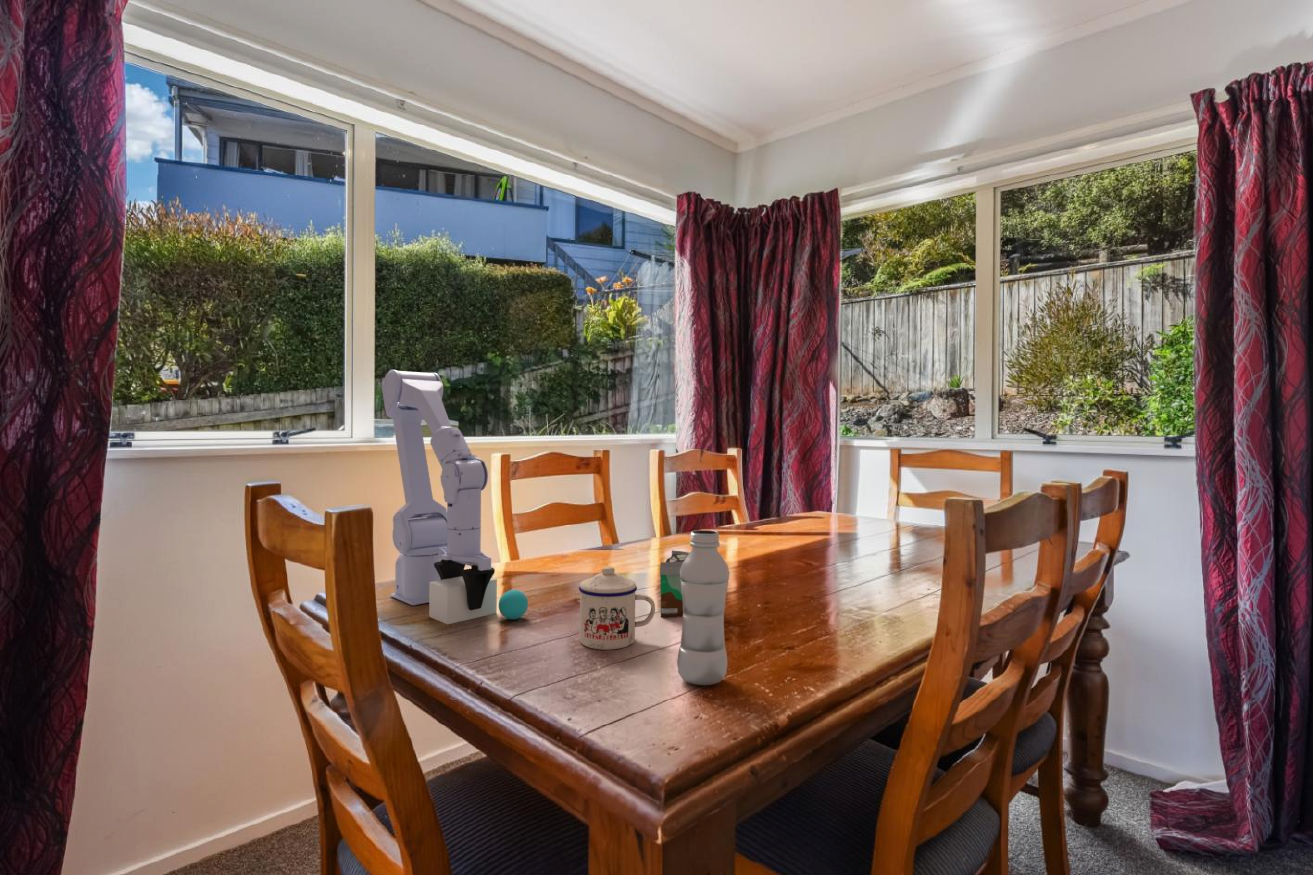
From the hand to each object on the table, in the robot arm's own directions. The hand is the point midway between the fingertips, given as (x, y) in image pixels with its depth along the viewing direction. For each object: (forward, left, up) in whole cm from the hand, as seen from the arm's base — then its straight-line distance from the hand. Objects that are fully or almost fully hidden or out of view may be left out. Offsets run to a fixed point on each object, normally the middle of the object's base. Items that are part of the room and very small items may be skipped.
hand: (463, 604), depth 117 cm
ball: (+8, +5, +1) cm, 9 cm away
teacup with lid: (+29, +10, -2) cm, 31 cm away
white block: (0, 0, -2) cm, 2 cm away
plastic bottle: (+49, +7, -2) cm, 49 cm away
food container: (+25, +30, -2) cm, 39 cm away
